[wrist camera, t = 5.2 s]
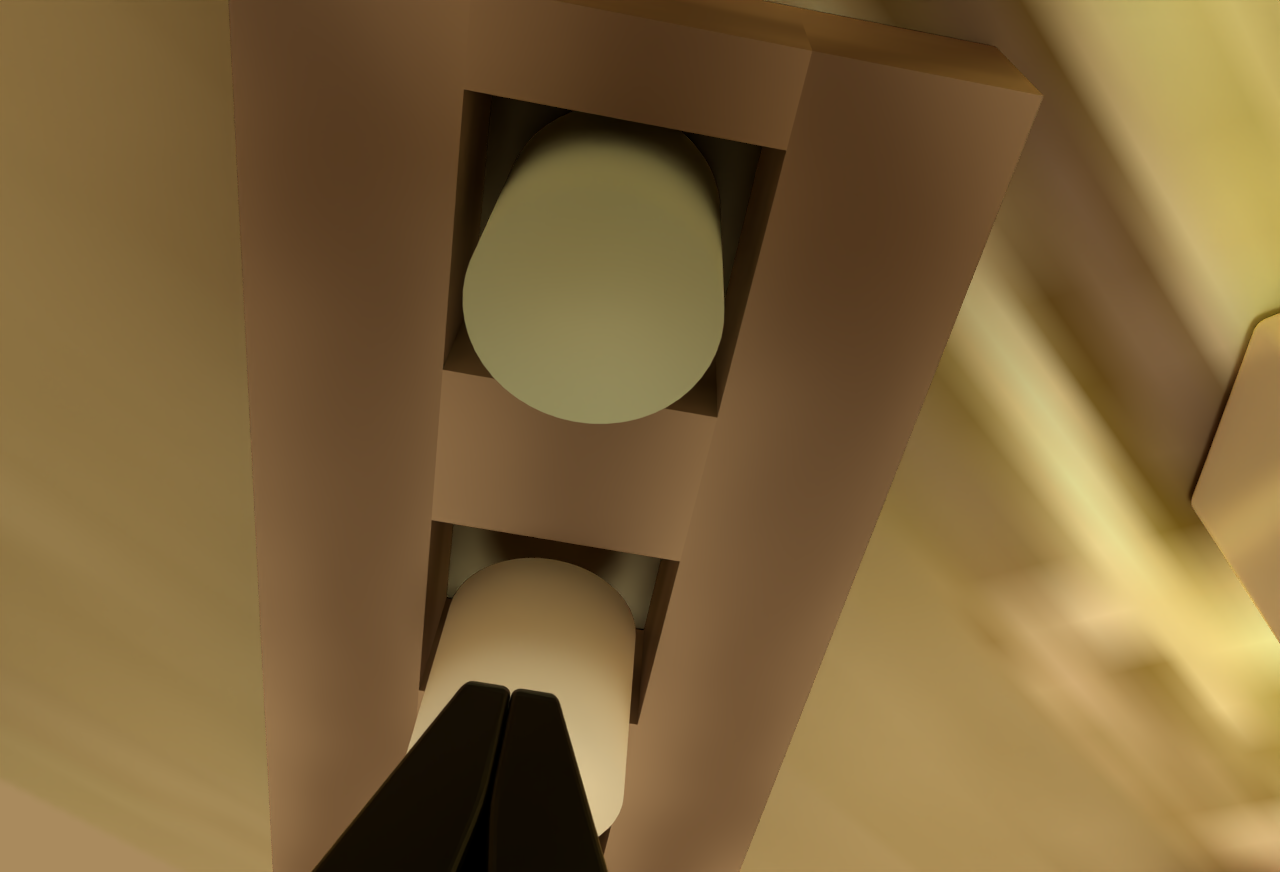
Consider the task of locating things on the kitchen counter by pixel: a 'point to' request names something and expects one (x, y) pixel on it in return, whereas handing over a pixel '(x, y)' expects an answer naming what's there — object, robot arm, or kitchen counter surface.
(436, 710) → the cream button
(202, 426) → the kitchen counter surface
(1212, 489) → the jar
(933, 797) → the kitchen counter surface
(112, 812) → the kitchen counter surface
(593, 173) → the green button
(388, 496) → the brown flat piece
